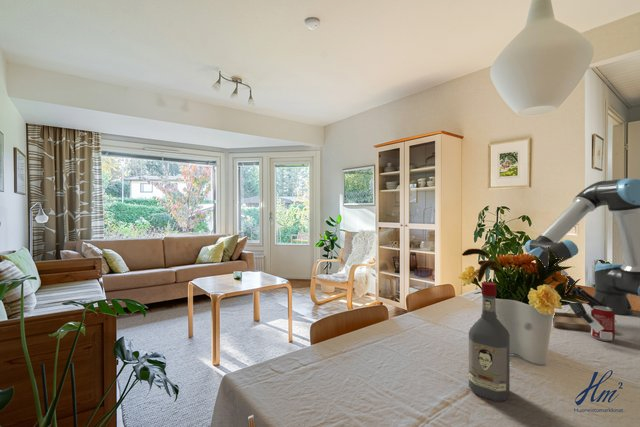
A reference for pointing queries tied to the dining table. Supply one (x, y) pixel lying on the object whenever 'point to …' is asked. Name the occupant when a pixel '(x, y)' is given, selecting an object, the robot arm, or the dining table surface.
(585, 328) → the walnut tray
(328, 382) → the dining table surface
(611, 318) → the soda can
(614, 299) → the robot arm
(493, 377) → the liquor
